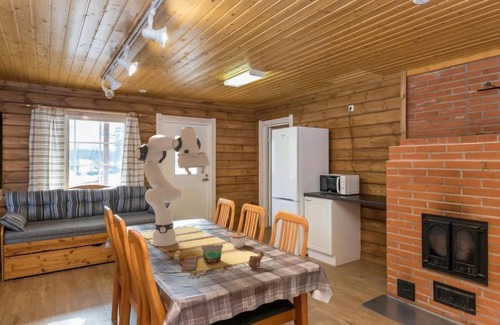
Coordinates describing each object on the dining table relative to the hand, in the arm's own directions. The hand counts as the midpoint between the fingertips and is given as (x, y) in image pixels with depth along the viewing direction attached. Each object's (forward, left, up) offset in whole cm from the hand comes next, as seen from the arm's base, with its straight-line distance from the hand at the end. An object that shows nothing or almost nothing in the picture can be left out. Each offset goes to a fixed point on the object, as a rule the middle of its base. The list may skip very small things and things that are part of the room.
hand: (196, 174), depth 185 cm
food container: (+14, +9, -49) cm, 52 cm away
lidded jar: (-16, +26, -49) cm, 58 cm away
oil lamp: (+25, +32, -49) cm, 64 cm away
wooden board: (+14, -4, -49) cm, 51 cm away
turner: (+5, -12, -49) cm, 51 cm away
